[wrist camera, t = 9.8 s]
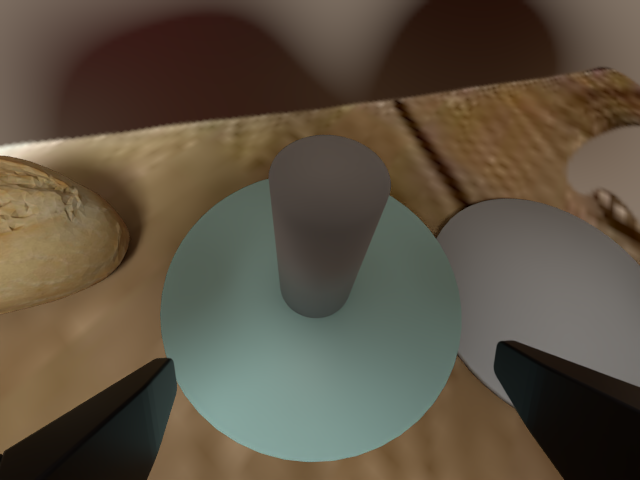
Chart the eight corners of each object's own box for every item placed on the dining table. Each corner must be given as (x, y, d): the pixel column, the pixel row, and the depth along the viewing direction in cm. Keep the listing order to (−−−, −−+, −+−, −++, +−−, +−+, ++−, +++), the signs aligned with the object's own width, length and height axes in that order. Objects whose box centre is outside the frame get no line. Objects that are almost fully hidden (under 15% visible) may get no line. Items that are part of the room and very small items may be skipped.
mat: (689, 284, 24) (696, 282, 24) (649, 511, 17) (659, 514, 16) (484, 171, 29) (487, 167, 28) (383, 309, 21) (385, 307, 21)
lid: (497, 277, 18) (645, 166, 11) (341, 559, 12) (430, 813, 4) (300, 149, 22) (302, 3, 15) (104, 306, 16) (-77, 191, 8)
